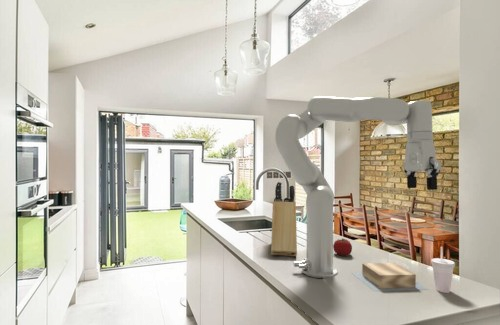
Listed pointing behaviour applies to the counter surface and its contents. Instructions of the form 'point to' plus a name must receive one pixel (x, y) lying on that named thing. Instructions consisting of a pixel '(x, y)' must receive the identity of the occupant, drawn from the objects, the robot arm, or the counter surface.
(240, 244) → the counter surface
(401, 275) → the oak riser
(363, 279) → the base board
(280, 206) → the knife block
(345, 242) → the tomato
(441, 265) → the smoothie
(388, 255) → the counter surface
